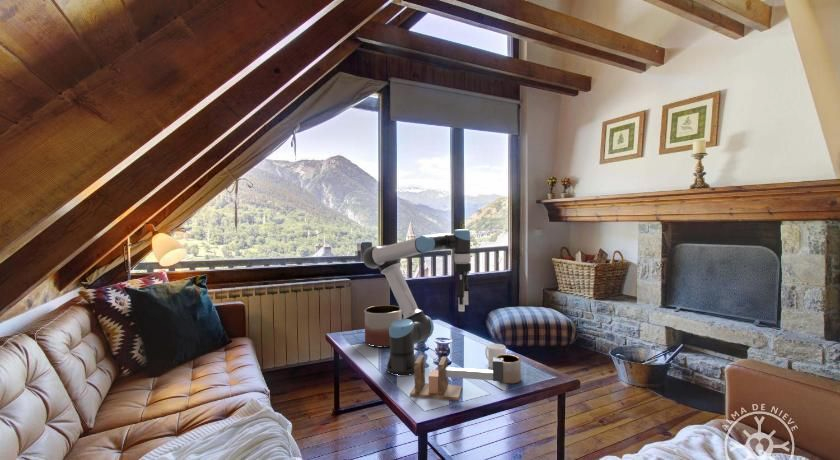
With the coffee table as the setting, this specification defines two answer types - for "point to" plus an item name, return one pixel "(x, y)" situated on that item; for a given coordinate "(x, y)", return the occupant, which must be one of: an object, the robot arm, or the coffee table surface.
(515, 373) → the planter
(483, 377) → the hammer
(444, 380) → the bracket
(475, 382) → the coffee table surface
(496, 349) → the cup
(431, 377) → the spacer
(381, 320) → the planter
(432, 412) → the coffee table surface
